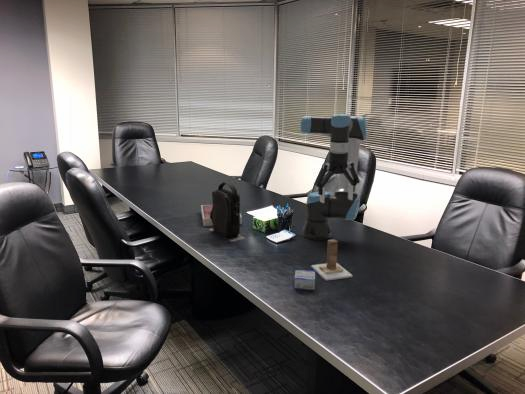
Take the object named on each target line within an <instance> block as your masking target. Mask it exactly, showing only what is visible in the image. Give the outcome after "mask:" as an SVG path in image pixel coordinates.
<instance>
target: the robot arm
mask: <svg viewBox="0 0 525 394" xmlns="http://www.w3.org/2000/svg"><path fill="white" fill-rule="evenodd" d="M300 131H301V132H302V133H303V134H313V135H315V134H316V135H317V134H320V135H322V136H325V137H329V138H330V141H329V151H330V152H329V163H328V164H326V163H322V165H321V169H320V171H319V174H318V176H317V178H316V179H315V182H314V184H313V185H314V186H315V187H317V188H318V190H317V191H314V192H310V193H309V194H307V198H306V203H305V204H306V213H305V215H306V218H305V223H304V225H303V228H302V231H301V232H302V234H301V235H302V237H304V238H306V239H309V240H314V241H324V240H329V239H330V238H331V237H332V231H331V227H330V223H329V219H336V220H337V219H338V220H339V219H340V220H344V221H347V220H348V221H349V220H350V221H353V220H355V219H356V218H357V215H358V213H359V209H360V204H361V203H360V202H361V198H360V197H359V196H358V193H357V191H356V186H357V184H360V179H359V176H358V168H359V167H358V165H359V157H360V156H359V155H360V146H361V145H362V144H364V140H365V141H366V139H367V121H366V118H365V117H364V116H360V115H349V114H348V113H335V114H332V115H330V116H317V115H316V116H315V115H314V116H313V115H304V116H302V117H301V119H300ZM327 170H328V171H327ZM334 175H339V177H338V187H337V189H336V190H335V192H334V195H331V192H330V191H326V188H325V186H326V184H327V183H328V182H329V180H330V179H331V178H332V176H334Z"/></svg>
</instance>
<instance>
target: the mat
mask: <svg viewBox="0 0 525 394" xmlns="http://www.w3.org/2000/svg"><path fill="white" fill-rule="evenodd" d="M326 264H327V262H326V263H317V264H312V265H311V268H312V269H313V271H315V273H317V274H318V275H319V276H320V277H321V278H322V279H324V280H325V282H326V281H334V280H340V279H347V278H348V279H349V278H353V274H351V273H350V272H349V270H346V269H345V268H344V267H343V266H341V265H340V263H338V262H337V263H336V264H337V265H338V266H339V267H341V268H342V269H343V272H337V273H330V274H325V273H324V272H323V271H322V270H321V269H319V266H324V265H326Z"/></svg>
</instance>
